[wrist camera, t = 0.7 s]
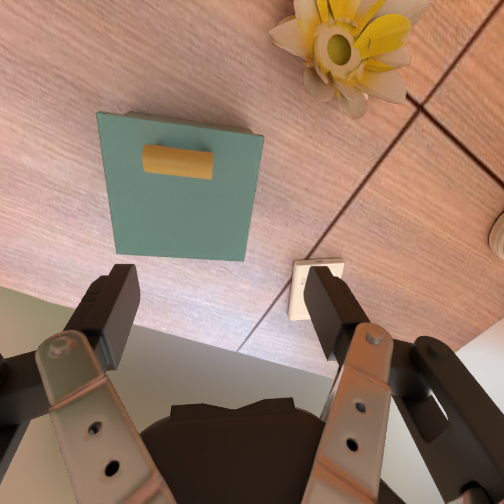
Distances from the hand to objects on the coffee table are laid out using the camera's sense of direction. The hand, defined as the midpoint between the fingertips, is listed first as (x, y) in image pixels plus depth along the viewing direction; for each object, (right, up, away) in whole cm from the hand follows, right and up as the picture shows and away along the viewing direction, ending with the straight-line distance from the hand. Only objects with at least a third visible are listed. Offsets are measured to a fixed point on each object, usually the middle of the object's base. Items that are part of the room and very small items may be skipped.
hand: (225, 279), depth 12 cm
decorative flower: (+10, +23, +16) cm, 30 cm away
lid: (-5, +7, +14) cm, 16 cm away
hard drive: (+12, -5, +34) cm, 37 cm away
